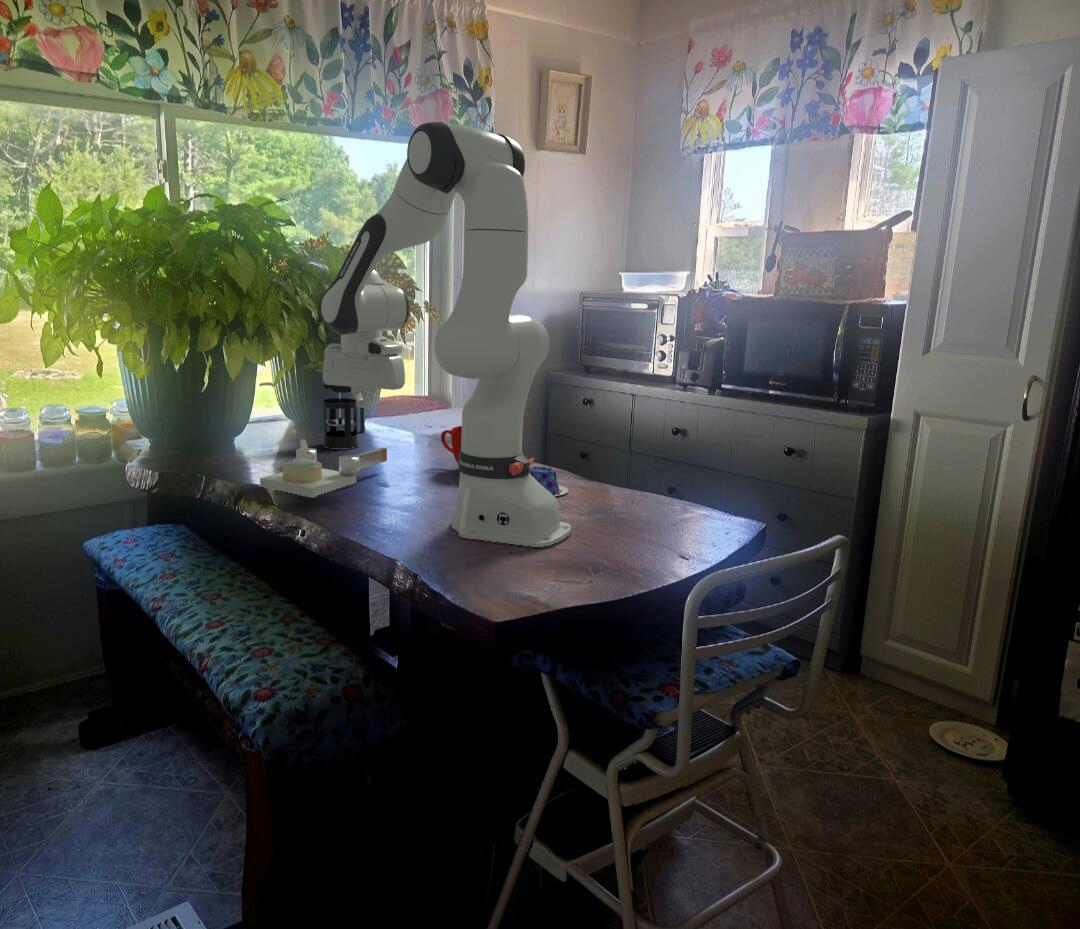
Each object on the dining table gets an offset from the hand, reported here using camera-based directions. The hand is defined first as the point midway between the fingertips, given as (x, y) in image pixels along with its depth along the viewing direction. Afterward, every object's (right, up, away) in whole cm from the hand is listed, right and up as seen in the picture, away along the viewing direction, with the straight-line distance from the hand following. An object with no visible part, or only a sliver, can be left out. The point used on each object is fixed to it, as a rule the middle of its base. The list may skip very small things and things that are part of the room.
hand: (363, 407), depth 180 cm
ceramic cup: (+23, -14, +13) cm, 30 cm away
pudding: (+39, -19, -3) cm, 44 cm away
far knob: (-15, -12, +5) cm, 19 cm away
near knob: (0, -14, 0) cm, 14 cm away
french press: (-13, -8, +32) cm, 36 cm away
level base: (-10, -17, -7) cm, 21 cm away
